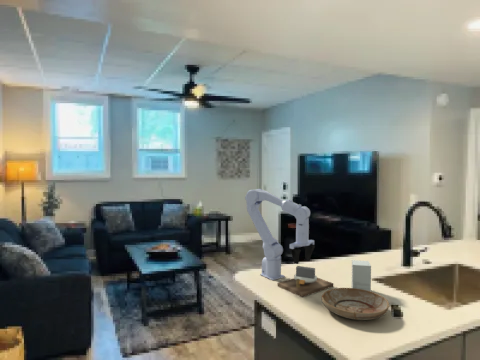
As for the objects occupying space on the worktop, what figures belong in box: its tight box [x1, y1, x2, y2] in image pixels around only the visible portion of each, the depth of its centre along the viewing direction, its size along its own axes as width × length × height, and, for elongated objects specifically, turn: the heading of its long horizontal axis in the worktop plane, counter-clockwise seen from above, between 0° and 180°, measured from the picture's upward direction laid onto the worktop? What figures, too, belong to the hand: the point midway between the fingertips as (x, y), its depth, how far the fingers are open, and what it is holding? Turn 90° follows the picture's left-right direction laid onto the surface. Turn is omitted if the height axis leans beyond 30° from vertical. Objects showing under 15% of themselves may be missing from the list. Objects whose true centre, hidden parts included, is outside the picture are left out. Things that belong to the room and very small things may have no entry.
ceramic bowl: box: [321, 287, 390, 321], centre depth 122 cm, size 23×24×5 cm
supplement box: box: [351, 259, 372, 292], centre depth 141 cm, size 7×7×13 cm
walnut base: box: [277, 277, 334, 298], centre depth 147 cm, size 15×20×5 cm
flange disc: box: [293, 265, 318, 284], centre depth 146 cm, size 12×10×5 cm
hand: (302, 261), depth 153 cm, fingers open, 7 cm apart
